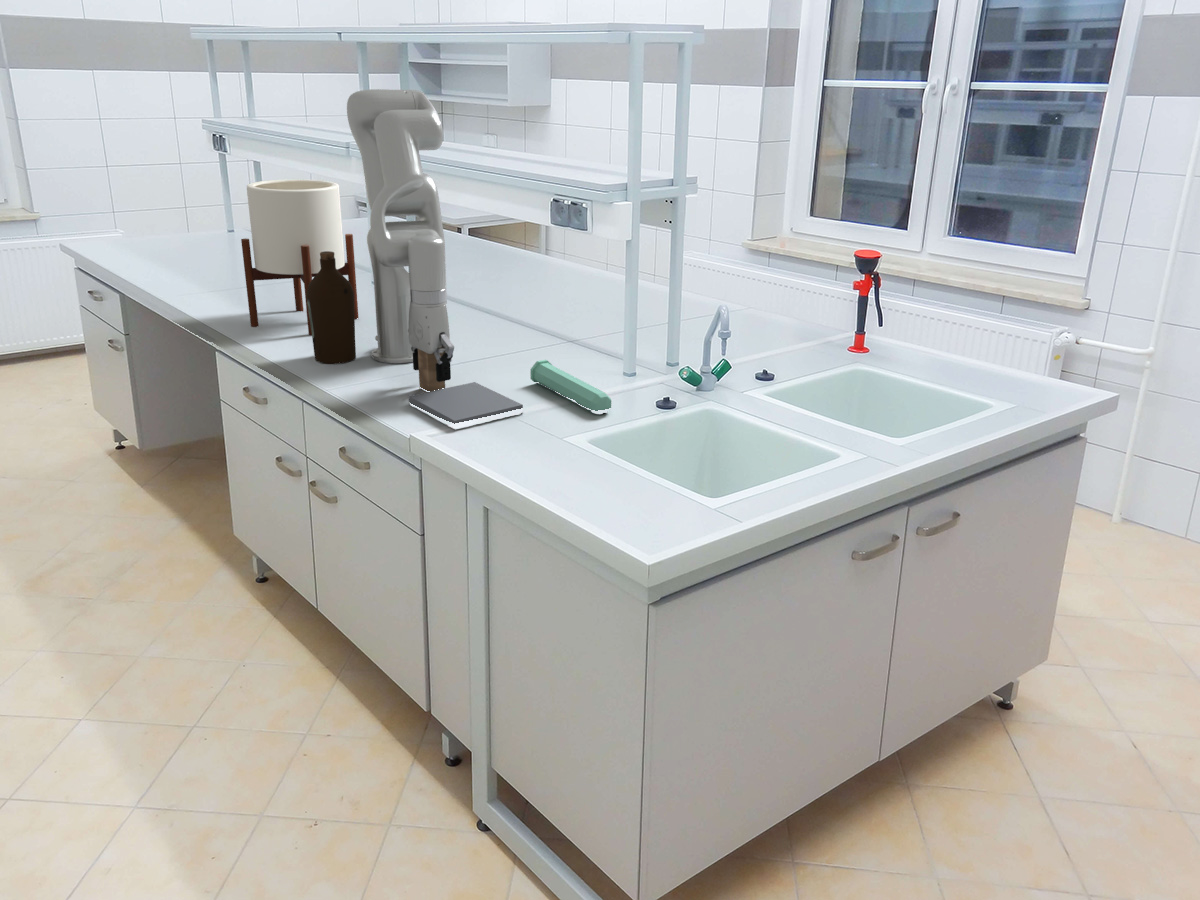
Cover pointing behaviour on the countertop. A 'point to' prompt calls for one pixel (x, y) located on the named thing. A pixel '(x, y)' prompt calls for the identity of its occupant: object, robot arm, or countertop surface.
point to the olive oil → (331, 313)
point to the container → (569, 386)
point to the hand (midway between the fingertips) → (431, 374)
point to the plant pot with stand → (294, 236)
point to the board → (464, 402)
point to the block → (428, 371)
